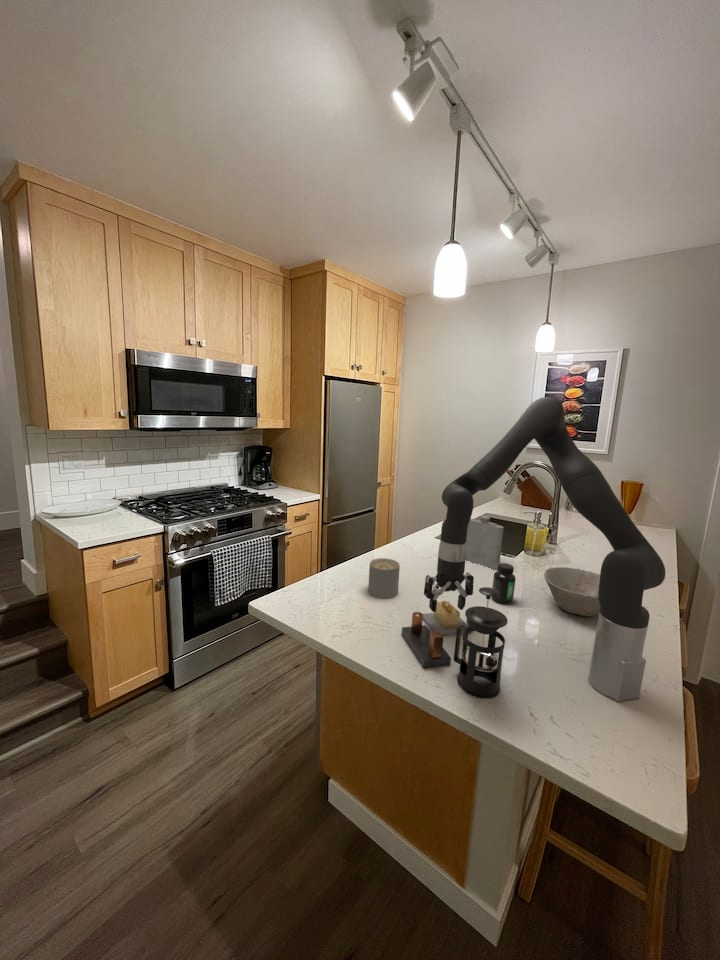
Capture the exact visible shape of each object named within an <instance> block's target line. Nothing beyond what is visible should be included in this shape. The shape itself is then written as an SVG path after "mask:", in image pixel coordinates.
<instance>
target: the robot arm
mask: <svg viewBox="0 0 720 960" xmlns="http://www.w3.org/2000/svg"><path fill="white" fill-rule="evenodd" d="M565 413H566V412H565V409H564V405H563V403H562V402H561V401H560V400H559V399H558V398H555V397H554V396H553V397H551V396H544V397H540V398H537V399H536V400H535V401H533V402H532V403H531V404H530V405H529V406H528V407H527V408H526V409H525V411H524V412H523V413H522V415H521V416H520V417H519V419H518V420H517V421H516V422H515V423H514V425H513V426H512V427H511V428H510V429H509V430H508V432H507V433H506V434H505V435H504V436H503V437H502V438H501V439H500V441H498V442H497V443H496V445H495V446H493V448H492V449H491V450H489V452H487V453H486V454H485V455H484V456H483V457H482V458H481V459H479V461H477V462H476V463H475V464H474V465H473V466H472V467H471V468H470V469H469V470H468V471H467V472H465V473H463V474H462V475H461V476H459V477H457V478H456V479H454V480H453V481H452V482H450V483H449V484H448V485H447V486H446V487H445V488H444V490H443V492H442V494H441V501H442V503H443V504H444V506H445V507H446V508H447V509H446V515H445V517H446V518H445V519H444V520H443V521H442V524H441V530H440V531H441V532H440V540H439V545H438V551H437V552H438V553H437V555H438V556H437V565H436V566H437V567H436V571H437V573H436V575H435V576H430V575H429V574H427V575H426V576H425V579H424V580H425V581H424V582H425V583H424V590H423V595H424V596H425V597H426V598H427V599H428V600H429V601H428V603H429V604H428V607H429V609H430V610H431V611H432V613H434V612H436V607H437V602H438V598H439V597H440V596H442V595H443V594H444V592H451V591H452V592H456V591H457V592H458V593H459V594H458V598H457V608H458V609H459V610H460V611H461V610H464V608H465V606H466V599H467V597H468V596H473V595H474V582H475V581H474V576H473V575H472V574H471V573H470V572H466V573H465V569H466V568H465V567H466V561H465V560H466V540H467V528H468V524H469V522H470V519H472V518H471V517H472V515H473V511H474V504H475V503H474V497H473V496H474V495H475V494H477V493H478V492H479V491H486V490H488V489H489V488H490V487H492V486H493V485H494V484H495V483H496V482H497V481H498V480H499V479H501V478H502V476H504V475H505V473H506V472H507V471H508V470H509V469H510V468H511V467H512V465H513V464H514V463H515V461H516V460H517V459H518V457H519V456H520V454H521V453H522V452H523V451H524V449H525V448H526V447H527V446H528V445H529V444H530V443H531V442H532V441H533V440H535V442H536V443H537V444H538V446H539V447H540V448H541V450H542V451H543V453H544V454H545V455H546V457H547V458H548V460H549V462H550V464H551V467H552V468H553V471H554V473H555V476H556V477H557V480H558V482H559V484H560V485H561V487H562V489H563V491H564V493H565V495H566V497H567V498H568V500H569V501H570V504H571V505H572V507H573V508H574V509H575V510H576V511H577V512H578V513H579V514H580V515H581V516H582V517H583V518H584V519H586V520H587V521H588V522H589V523H591V524H592V525H593V526H595V528H596V529H597V530H598V531H600V532H601V533H602V534H603V536H604V537H605V538H606V540H607V541H608V542H609V544H610V545H611V547H612V549H613V551H610V552H609V553H607V555H605V556H604V559H603V561H602V564H601V568H600V573H599V574H600V581H599V591H598V599H599V603H600V612H599V613H598V618H597V624H596V630H595V636H594V641H593V648H592V653H591V660H590V666H589V667H590V668H589V674H588V683H589V684H590V685H591V686H592V688H594V690H596V691H597V692H599V693H601V694H602V695H604V696H606V697H609V698H611V699H613V700H614V701H616V702H617V703H618V702H624V701H629V700H635V699H639V698H640V694H641V689H642V683H643V678H644V673H645V669H646V663H647V660H646V658H644V657H643V652H644V648H645V641H646V637H647V632H648V627H649V622H650V617H651V616H650V612H649V611H648V609H647V608H646V607H645V606H643V597H644V592H645V591H648V590H650V589H655V588H656V587H658V586H661V585H663V583H664V581H665V578H666V567H665V564H664V562H663V560H662V558H661V557H660V555H659V553H658V552H657V551H656V550H655V549H654V547H653V545H651V543H650V542H649V541H648V540H647V539H646V537H645V536H644V535H643V534H642V532H641V531H640V530H639V528H638V526H637V525H636V524H635V523H634V522H633V520H632V519H631V517H630V516H629V514H628V513H627V511H626V509H625V507H624V506H623V505H622V503H621V502H620V500H619V498H618V497H617V495H616V494H615V492H614V491H613V489H612V487H611V486H610V483H609V482H608V481H607V479H606V477H605V476H604V475H603V473H602V471H601V470H600V468H599V467H598V466H597V464H595V463H594V462H593V460H591V459H590V458H589V457H588V456H587V455H586V454H584V453H583V452H582V450H580V448H578V446H577V445H576V443H575V442H574V440H573V438H572V437H571V436H572V435H571V434H570V433H569V431H568V429H567V426H566V421H565V416H566V415H565ZM463 582H464V583H465V584H464V588H463V586H462V583H463Z"/></svg>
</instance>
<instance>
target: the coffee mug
mask: <svg viewBox="0 0 720 960" xmlns="http://www.w3.org/2000/svg"><path fill="white" fill-rule="evenodd" d="M400 565H401V564H400V562H398V560H395V559H392V558H387V557H380V558H373V559H371V560H370V562H369V569H368V572H369V574H368V588H367V589H368V593H369V595H371V596H372V597H375V598H378V599H383V600H385V599H392V598H395V597H397V596H398V594H399V581H400V568H401V566H400Z"/></svg>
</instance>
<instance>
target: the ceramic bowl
mask: <svg viewBox="0 0 720 960" xmlns="http://www.w3.org/2000/svg"><path fill="white" fill-rule="evenodd" d="M543 577H544V580H545V582H546V584H547V586H548V588H549V590H550V593H551V595H552V598H553V600H554V601H555V603H556V604H557V605H558V607H560V608H561V609H562V610H563V611H565V612H567V613H569V614H574V615H578V616H584V617H590V616H591V617H592V616H596V615H599V612H600V603H599V599H598V591H599V581H600V573H596V572H592V571H588V570H584V569H579V568H572V567H567V566H565V567H563V566H562V567H561V566H560V567H558V566H557V567H550V568H547V569H545V570H544V572H543Z"/></svg>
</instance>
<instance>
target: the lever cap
mask: <svg viewBox="0 0 720 960" xmlns="http://www.w3.org/2000/svg"><path fill="white" fill-rule="evenodd" d="M433 613H434V618H435V619H436V620H437V621H438V622H439V623H440V625H441V626H442V627H443V628H444V629H451V628H457V627H459V618H461V617H460V616H461V612H460V611H459V610H458V609H457V608H456V607H455V606H454V605H453V604H452V603H451V602H450V601H446V600H443V601H437V607H436V612H433Z"/></svg>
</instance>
